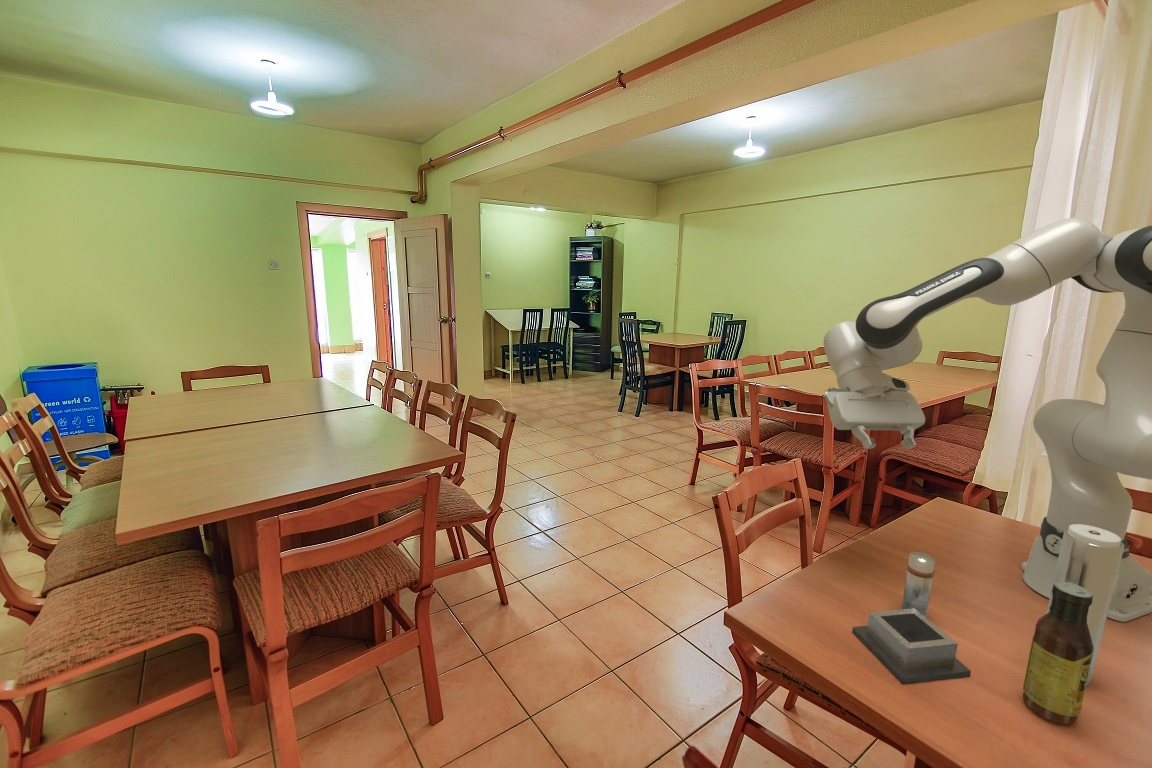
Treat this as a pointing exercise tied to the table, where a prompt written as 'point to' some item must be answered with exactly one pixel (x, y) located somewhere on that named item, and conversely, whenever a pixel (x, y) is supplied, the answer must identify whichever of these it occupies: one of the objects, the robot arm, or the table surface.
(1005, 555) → the table surface
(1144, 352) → the robot arm
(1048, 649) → the sauce bottle
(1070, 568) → the silver piece
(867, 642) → the collar
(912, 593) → the cylinder
